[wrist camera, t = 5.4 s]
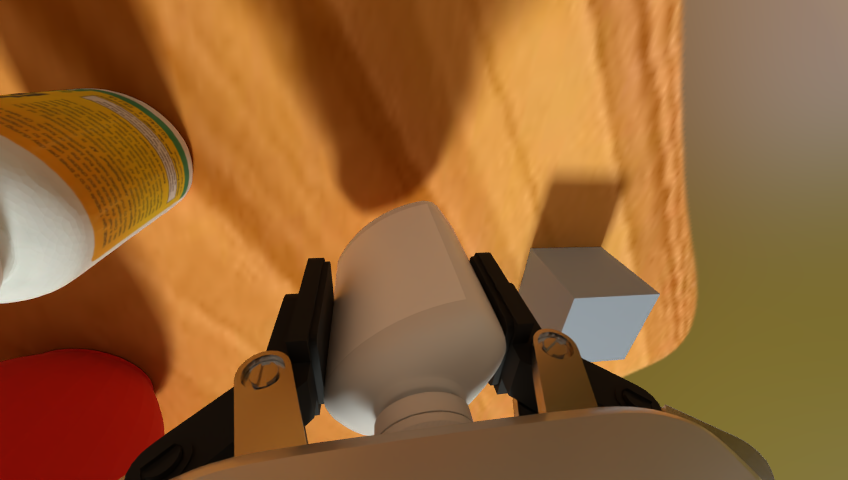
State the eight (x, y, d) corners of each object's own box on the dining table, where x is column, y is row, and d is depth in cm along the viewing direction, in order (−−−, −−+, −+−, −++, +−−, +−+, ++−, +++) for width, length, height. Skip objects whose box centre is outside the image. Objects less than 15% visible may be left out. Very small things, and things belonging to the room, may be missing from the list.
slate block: (530, 247, 20) (574, 298, 16) (599, 246, 21) (660, 294, 17) (513, 307, 22) (548, 365, 18) (577, 304, 23) (624, 358, 19)
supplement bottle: (151, 228, 16) (-92, 414, 7) (23, 142, 13) (-558, 278, 5) (224, 162, 15) (39, 291, 6) (101, 55, 12) (-464, 41, 4)
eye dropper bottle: (325, 210, 14) (216, 652, 4) (449, 194, 14) (655, 535, 4) (345, 287, 16) (312, 689, 6) (451, 270, 17) (589, 610, 6)
